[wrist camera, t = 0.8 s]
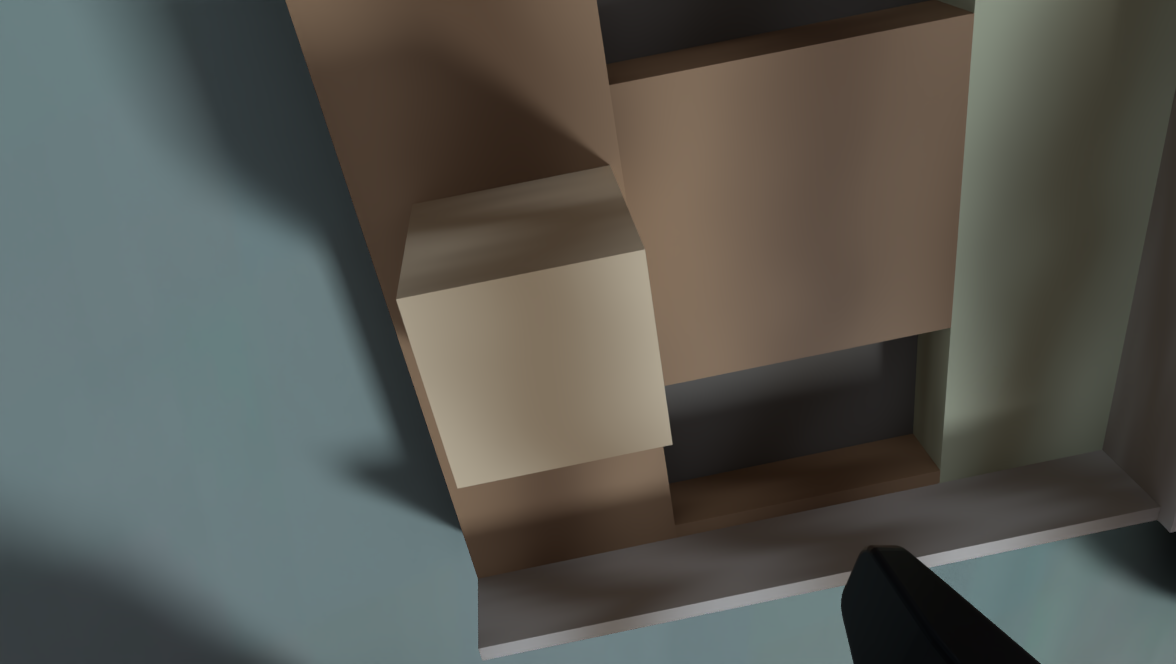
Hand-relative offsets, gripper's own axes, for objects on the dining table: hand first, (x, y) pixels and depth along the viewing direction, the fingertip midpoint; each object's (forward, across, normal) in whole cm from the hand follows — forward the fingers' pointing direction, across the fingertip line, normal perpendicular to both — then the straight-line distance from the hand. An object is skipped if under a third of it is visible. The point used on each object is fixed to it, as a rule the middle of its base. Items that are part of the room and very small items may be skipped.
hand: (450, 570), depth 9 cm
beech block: (+11, -2, +3) cm, 12 cm away
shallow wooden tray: (+14, -8, +1) cm, 16 cm away
